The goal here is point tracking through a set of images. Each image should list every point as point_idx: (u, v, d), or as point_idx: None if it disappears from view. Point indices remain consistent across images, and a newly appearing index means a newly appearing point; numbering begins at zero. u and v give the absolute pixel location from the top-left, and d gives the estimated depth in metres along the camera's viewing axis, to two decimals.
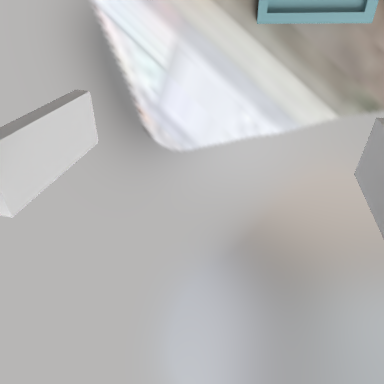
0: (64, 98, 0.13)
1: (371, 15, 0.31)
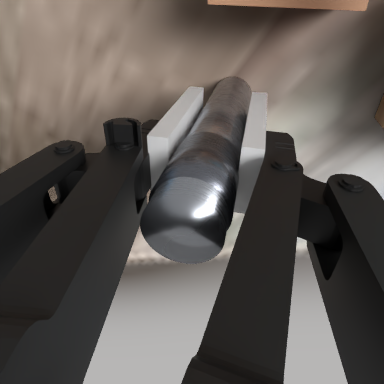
0: (188, 94, 0.14)
1: None
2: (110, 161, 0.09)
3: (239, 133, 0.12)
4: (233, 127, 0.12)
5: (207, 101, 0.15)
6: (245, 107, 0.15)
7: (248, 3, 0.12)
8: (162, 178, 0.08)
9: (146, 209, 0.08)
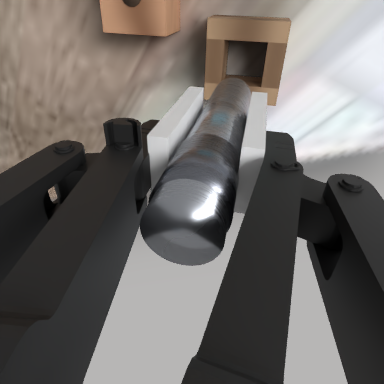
0: (188, 94, 0.14)
1: None
2: (110, 161, 0.09)
3: (239, 134, 0.12)
4: (233, 128, 0.12)
5: (207, 102, 0.15)
6: (245, 108, 0.15)
7: (120, 32, 0.27)
8: (162, 180, 0.08)
9: (146, 211, 0.08)
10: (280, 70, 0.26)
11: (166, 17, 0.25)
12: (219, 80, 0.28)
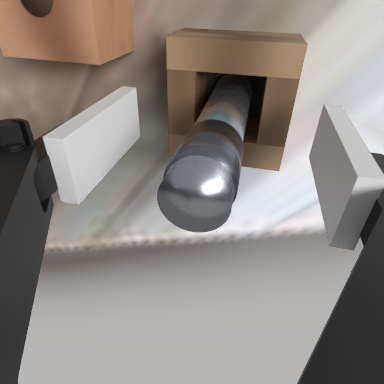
0: (115, 94, 0.14)
1: None
2: (2, 164, 0.09)
3: (241, 121, 0.13)
4: (236, 116, 0.13)
5: (211, 94, 0.17)
6: (246, 99, 0.16)
7: (28, 56, 0.16)
8: (176, 157, 0.10)
9: (163, 182, 0.09)
10: (287, 120, 0.16)
11: (96, 35, 0.15)
12: None
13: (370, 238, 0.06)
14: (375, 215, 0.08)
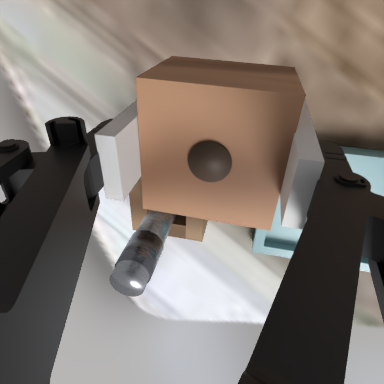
0: None
1: None
2: (56, 160, 0.09)
3: None
4: None
5: None
6: None
7: (140, 120, 0.12)
8: (145, 265, 0.20)
9: (134, 276, 0.19)
10: None
11: (171, 212, 0.14)
12: None
13: (308, 217, 0.07)
14: (315, 195, 0.09)
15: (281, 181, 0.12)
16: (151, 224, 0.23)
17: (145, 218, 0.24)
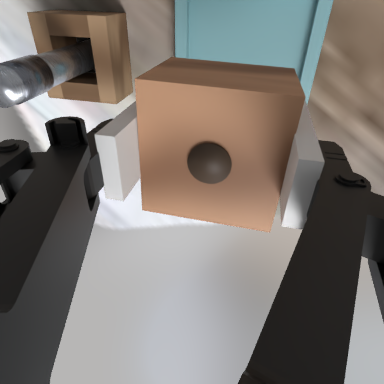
0: None
1: None
2: (56, 160, 0.09)
3: (62, 82, 0.24)
4: (63, 80, 0.23)
5: (81, 47, 0.25)
6: (83, 72, 0.26)
7: (139, 122, 0.12)
8: (18, 72, 0.19)
9: (0, 73, 0.18)
10: (78, 98, 0.28)
11: (171, 214, 0.14)
12: (52, 33, 0.25)
13: (308, 217, 0.07)
14: (315, 194, 0.09)
15: (281, 183, 0.12)
16: (41, 54, 0.22)
17: None
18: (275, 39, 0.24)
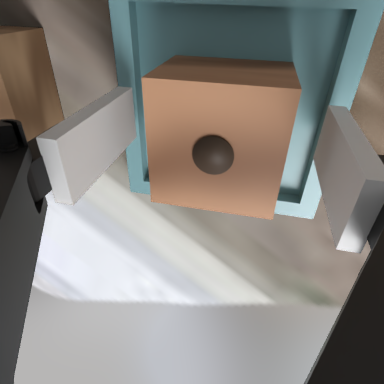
0: (111, 94, 0.14)
1: (311, 209, 0.18)
2: None
3: None
4: None
5: None
6: None
7: (146, 118, 0.12)
8: None
9: None
10: None
11: (178, 204, 0.15)
12: None
13: (378, 241, 0.06)
14: (383, 218, 0.08)
15: (281, 172, 0.12)
16: None
17: None
18: None
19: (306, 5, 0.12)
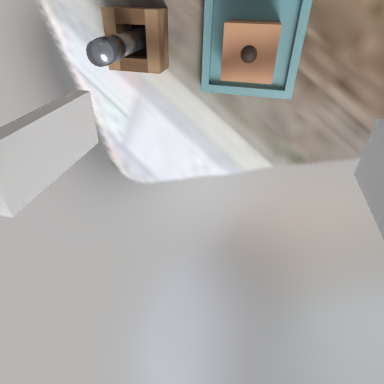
0: (64, 98, 0.13)
1: (290, 93, 0.38)
2: None
3: None
4: (129, 53, 0.34)
5: (137, 32, 0.36)
6: (137, 50, 0.37)
7: (223, 39, 0.32)
8: (110, 43, 0.29)
9: (102, 43, 0.28)
10: (132, 70, 0.38)
11: None
12: (117, 22, 0.35)
13: None
14: None
15: (275, 60, 0.32)
16: (117, 34, 0.32)
17: None
18: None
19: None
